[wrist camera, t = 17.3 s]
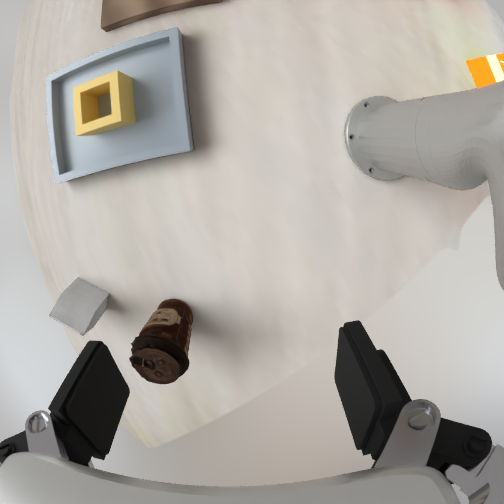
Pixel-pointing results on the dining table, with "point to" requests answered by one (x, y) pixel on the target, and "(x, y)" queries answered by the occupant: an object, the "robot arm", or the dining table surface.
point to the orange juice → (487, 69)
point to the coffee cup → (164, 343)
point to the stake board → (141, 10)
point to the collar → (88, 104)
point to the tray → (117, 140)
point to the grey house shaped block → (80, 306)
